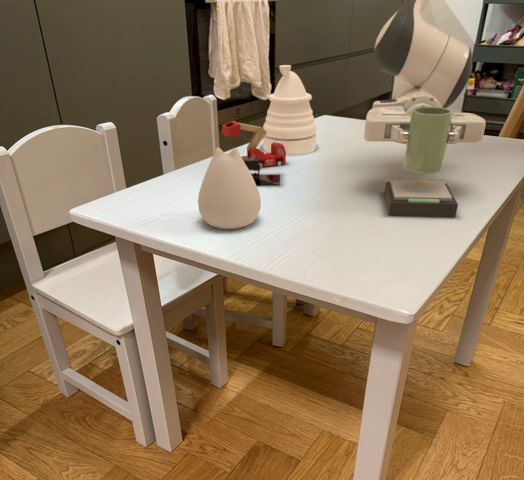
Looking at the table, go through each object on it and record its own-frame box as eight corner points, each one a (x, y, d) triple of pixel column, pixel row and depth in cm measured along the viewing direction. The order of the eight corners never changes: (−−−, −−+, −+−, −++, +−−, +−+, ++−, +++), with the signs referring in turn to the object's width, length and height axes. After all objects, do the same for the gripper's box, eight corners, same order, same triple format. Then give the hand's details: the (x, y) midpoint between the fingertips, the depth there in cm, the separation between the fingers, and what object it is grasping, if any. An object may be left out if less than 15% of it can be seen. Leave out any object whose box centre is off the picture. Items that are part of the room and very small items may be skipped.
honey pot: (295, 159, 115) (297, 70, 104) (252, 150, 122) (249, 66, 111) (325, 147, 123) (330, 63, 112) (284, 139, 130) (284, 60, 119)
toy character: (265, 212, 88) (264, 140, 81) (255, 236, 80) (253, 158, 72) (208, 210, 89) (202, 139, 82) (192, 233, 81) (184, 156, 74)
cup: (438, 162, 88) (449, 106, 83) (444, 173, 83) (456, 115, 77) (401, 162, 89) (409, 106, 83) (405, 172, 83) (414, 114, 78)
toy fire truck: (287, 165, 111) (288, 118, 105) (228, 173, 107) (226, 124, 101) (282, 161, 113) (282, 115, 108) (224, 169, 109) (221, 121, 104)
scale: (444, 196, 93) (447, 179, 91) (455, 218, 84) (459, 200, 82) (383, 195, 94) (385, 178, 92) (388, 217, 85) (390, 199, 83)
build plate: (279, 176, 105) (280, 153, 102) (280, 188, 99) (280, 163, 96) (221, 176, 105) (219, 153, 102) (217, 188, 99) (216, 164, 96)
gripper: (471, 138, 94) (489, 159, 83) (361, 137, 96) (364, 157, 85) (480, 101, 90) (499, 118, 79) (365, 101, 92) (368, 117, 81)
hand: (428, 138), depth 82 cm, fingers closed on cup, 6 cm apart
